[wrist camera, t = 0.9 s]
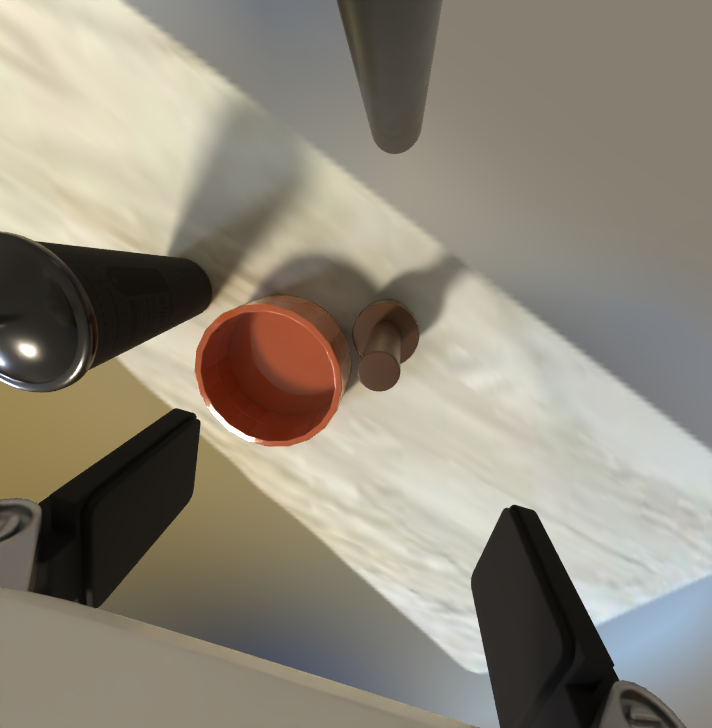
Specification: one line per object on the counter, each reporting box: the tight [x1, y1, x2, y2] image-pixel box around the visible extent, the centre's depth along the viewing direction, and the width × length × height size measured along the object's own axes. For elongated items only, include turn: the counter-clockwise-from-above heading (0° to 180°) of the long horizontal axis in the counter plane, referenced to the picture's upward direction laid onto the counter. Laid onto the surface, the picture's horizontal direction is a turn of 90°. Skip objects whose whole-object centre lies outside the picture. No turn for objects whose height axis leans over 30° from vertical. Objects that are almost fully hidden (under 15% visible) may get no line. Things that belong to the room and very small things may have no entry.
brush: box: [352, 299, 419, 391], centre depth 23 cm, size 5×5×11 cm
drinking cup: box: [0, 232, 211, 392], centre depth 20 cm, size 8×8×20 cm
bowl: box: [195, 295, 351, 446], centre depth 28 cm, size 11×11×5 cm
